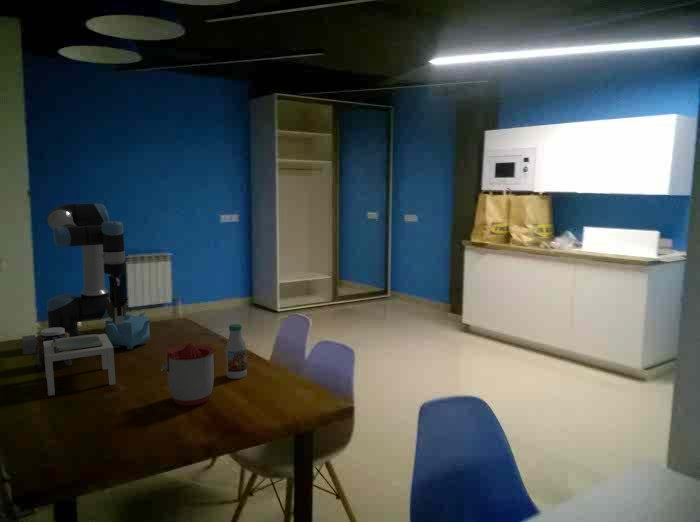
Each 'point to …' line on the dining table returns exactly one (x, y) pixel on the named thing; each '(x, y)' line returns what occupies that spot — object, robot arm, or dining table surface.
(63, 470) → the dining table surface
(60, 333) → the jar
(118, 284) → the robot arm
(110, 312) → the cup
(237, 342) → the milk bottle
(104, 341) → the frame
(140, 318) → the teakettle
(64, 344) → the trapdoor
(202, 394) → the citrus juicer
